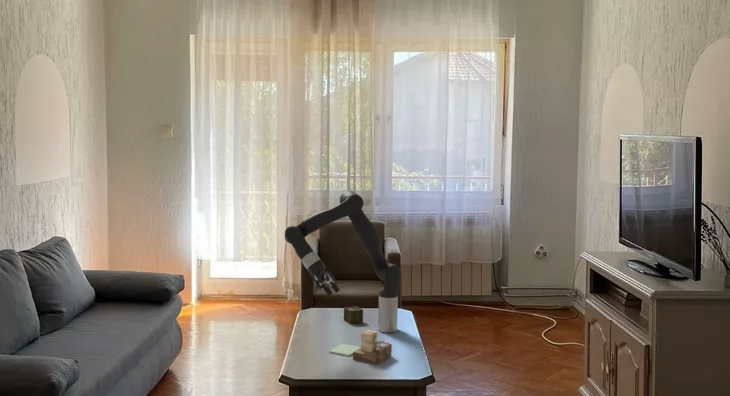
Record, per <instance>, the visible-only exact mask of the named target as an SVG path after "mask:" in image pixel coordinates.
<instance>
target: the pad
mask: <svg viewBox="0 0 730 396" xmlns="http://www.w3.org/2000/svg"><path fill="white" fill-rule="evenodd" d="M360 348H361V346H357V345H352V344H346V343H341V344H340V345H337V346H335V347H334V348H332V349H330V350H329V352H328V353H329V354H333V355H334V354H335V355H339V356H345V357H351V356H353V352H354V351H356V350H358V349H360Z"/></svg>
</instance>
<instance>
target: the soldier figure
mask: <svg viewBox="0 0 730 396" xmlns="http://www.w3.org/2000/svg"><path fill="white" fill-rule="evenodd" d="M388 343H389V342H386V341H384V340H379V341H378V340H377V347H380V348H382V347H383V346H384V345H387V344H388ZM381 344H384V345H383V346H382V345H381ZM389 344H390V343H389Z"/></svg>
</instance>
